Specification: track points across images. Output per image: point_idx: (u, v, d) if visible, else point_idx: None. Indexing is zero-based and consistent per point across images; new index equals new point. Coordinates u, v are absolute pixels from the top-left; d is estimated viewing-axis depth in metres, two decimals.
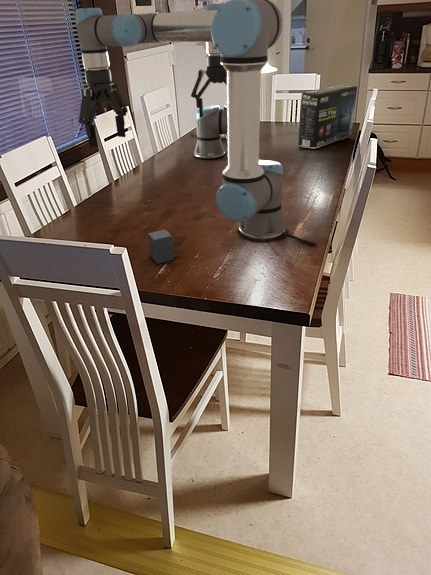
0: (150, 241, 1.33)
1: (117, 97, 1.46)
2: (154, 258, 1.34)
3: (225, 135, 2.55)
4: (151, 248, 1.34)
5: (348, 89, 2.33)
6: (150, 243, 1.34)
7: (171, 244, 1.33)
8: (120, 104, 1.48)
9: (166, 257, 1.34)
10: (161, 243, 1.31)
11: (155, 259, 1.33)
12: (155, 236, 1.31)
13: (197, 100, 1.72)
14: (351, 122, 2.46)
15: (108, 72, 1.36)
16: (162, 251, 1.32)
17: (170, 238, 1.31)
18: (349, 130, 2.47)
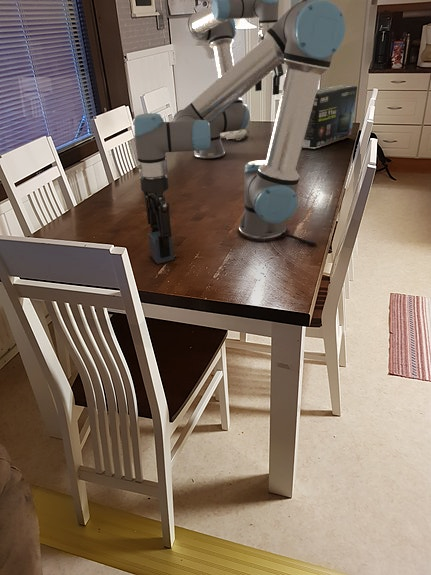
0: (150, 241, 1.33)
1: None
2: (154, 258, 1.34)
3: (225, 135, 2.55)
4: (151, 248, 1.34)
5: (348, 89, 2.33)
6: (150, 243, 1.34)
7: (171, 244, 1.33)
8: None
9: (166, 257, 1.34)
10: None
11: (155, 259, 1.33)
12: (155, 236, 1.31)
13: None
14: (351, 122, 2.46)
15: None
16: None
17: (170, 238, 1.31)
18: (349, 130, 2.47)
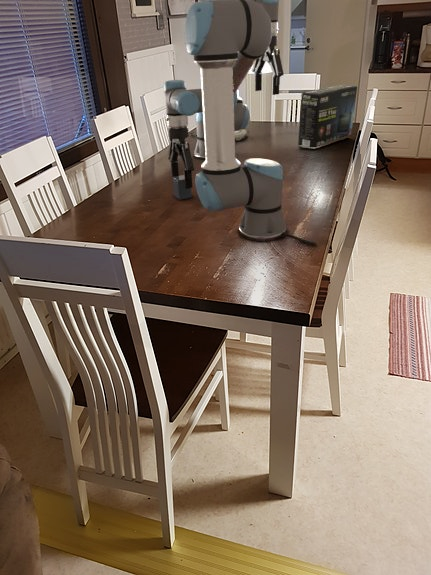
0: (174, 182, 1.78)
1: None
2: (177, 195, 1.79)
3: None
4: (175, 188, 1.79)
5: (348, 89, 2.33)
6: (174, 184, 1.79)
7: None
8: None
9: (186, 194, 1.79)
10: (183, 183, 1.76)
11: (178, 196, 1.79)
12: (178, 178, 1.76)
13: None
14: (351, 122, 2.46)
15: None
16: (183, 190, 1.77)
17: None
18: (349, 130, 2.47)
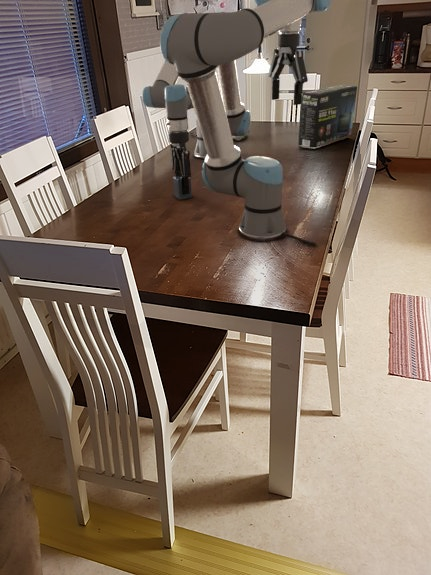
0: (174, 182, 1.78)
1: None
2: (177, 195, 1.79)
3: None
4: (175, 188, 1.79)
5: (348, 89, 2.33)
6: (174, 184, 1.79)
7: (190, 184, 1.78)
8: None
9: (186, 194, 1.79)
10: None
11: (178, 196, 1.79)
12: (178, 178, 1.76)
13: None
14: (351, 122, 2.46)
15: None
16: None
17: (189, 180, 1.77)
18: (349, 130, 2.47)
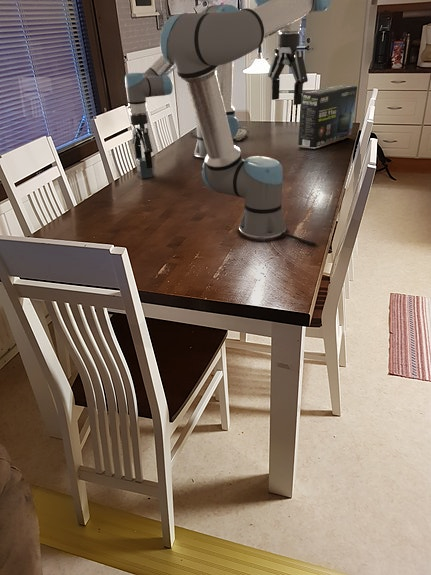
0: (137, 163, 2.03)
1: None
2: (140, 175, 2.03)
3: None
4: (138, 168, 2.04)
5: (348, 89, 2.33)
6: (137, 165, 2.03)
7: None
8: None
9: (147, 174, 2.03)
10: (144, 164, 2.00)
11: (140, 175, 2.03)
12: (140, 160, 2.01)
13: None
14: (351, 122, 2.46)
15: None
16: (145, 170, 2.02)
17: None
18: (349, 130, 2.47)
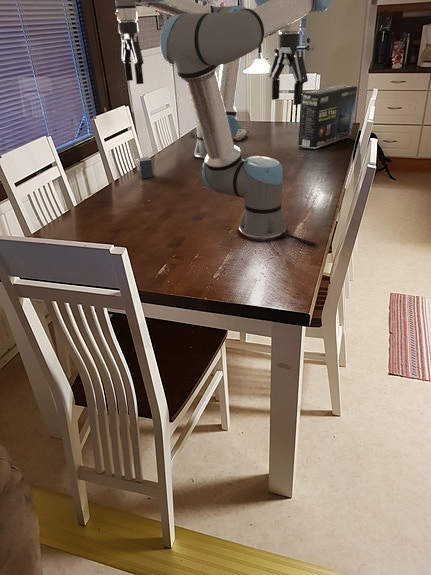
0: (137, 163, 2.03)
1: None
2: (140, 175, 2.03)
3: None
4: (138, 168, 2.04)
5: (348, 89, 2.33)
6: (137, 165, 2.03)
7: (151, 165, 2.02)
8: None
9: (147, 174, 2.03)
10: (144, 164, 2.00)
11: (140, 175, 2.03)
12: (140, 160, 2.01)
13: None
14: (351, 122, 2.46)
15: None
16: (145, 170, 2.02)
17: (150, 161, 2.01)
18: (349, 130, 2.47)
